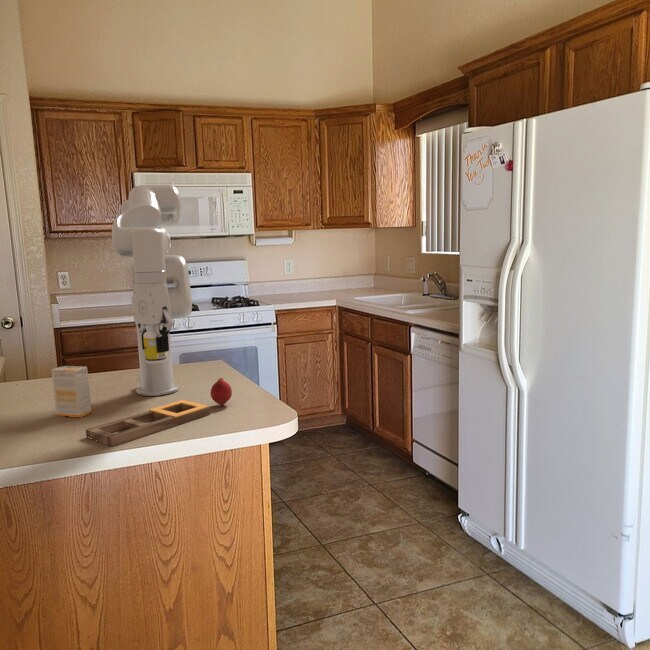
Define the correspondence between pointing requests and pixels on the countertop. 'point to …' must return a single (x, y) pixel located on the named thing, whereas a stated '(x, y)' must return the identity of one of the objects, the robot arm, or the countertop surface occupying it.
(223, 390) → the onion
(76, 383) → the supplement box
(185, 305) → the robot arm
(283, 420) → the countertop surface
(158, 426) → the socket rail
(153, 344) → the supplement bottle
